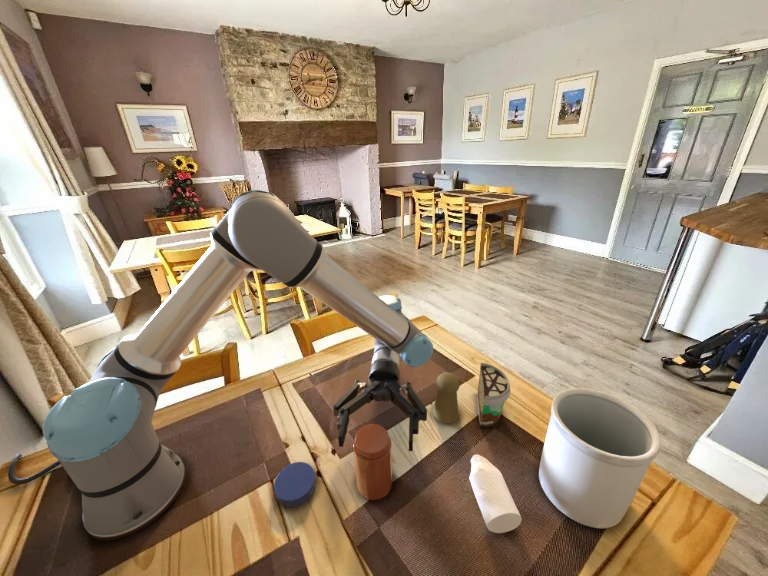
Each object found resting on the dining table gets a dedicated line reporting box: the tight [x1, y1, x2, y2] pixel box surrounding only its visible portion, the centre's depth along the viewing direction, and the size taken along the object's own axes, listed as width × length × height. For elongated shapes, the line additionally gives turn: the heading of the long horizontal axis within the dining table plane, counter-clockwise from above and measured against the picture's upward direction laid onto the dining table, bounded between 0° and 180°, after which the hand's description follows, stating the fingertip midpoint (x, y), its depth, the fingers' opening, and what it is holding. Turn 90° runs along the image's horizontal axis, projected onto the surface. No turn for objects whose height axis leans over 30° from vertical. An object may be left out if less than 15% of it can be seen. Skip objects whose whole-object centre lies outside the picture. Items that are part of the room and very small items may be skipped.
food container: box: [476, 362, 511, 428], centre depth 72 cm, size 12×6×10 cm, turn 168°
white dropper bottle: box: [468, 453, 523, 534], centre depth 56 cm, size 6×12×6 cm, turn 6°
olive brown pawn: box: [432, 371, 461, 424], centre depth 72 cm, size 6×6×11 cm
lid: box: [273, 461, 317, 508], centre depth 59 cm, size 8×8×2 cm
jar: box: [352, 423, 393, 501], centre depth 57 cm, size 7×7×12 cm
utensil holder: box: [538, 387, 662, 529], centre depth 54 cm, size 15×15×18 cm
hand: (375, 444), depth 59 cm, fingers open, 13 cm apart
